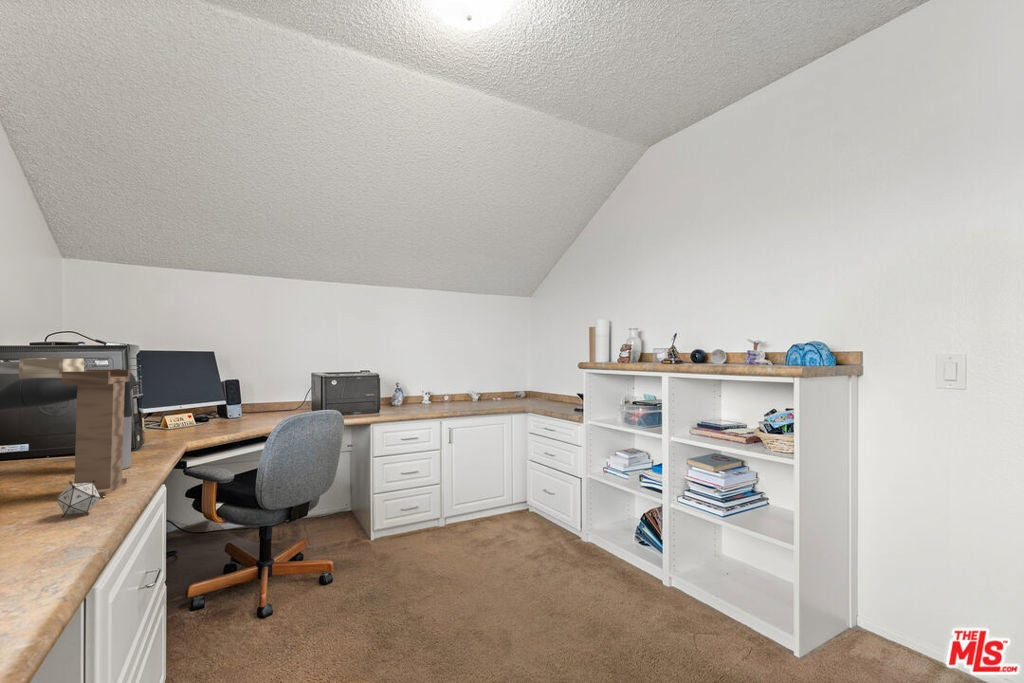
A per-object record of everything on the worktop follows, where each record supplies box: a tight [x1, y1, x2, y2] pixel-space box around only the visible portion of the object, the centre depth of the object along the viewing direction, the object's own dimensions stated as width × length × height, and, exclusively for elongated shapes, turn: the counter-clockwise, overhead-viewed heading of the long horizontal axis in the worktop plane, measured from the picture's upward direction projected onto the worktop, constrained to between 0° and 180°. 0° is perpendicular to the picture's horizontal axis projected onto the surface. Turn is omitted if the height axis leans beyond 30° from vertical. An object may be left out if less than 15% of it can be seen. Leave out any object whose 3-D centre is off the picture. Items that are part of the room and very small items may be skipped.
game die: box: [51, 479, 106, 518], centre depth 117 cm, size 9×8×10 cm
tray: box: [0, 357, 85, 379], centre depth 131 cm, size 12×18×5 cm
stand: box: [57, 369, 131, 497], centre depth 136 cm, size 15×10×34 cm, turn 21°
